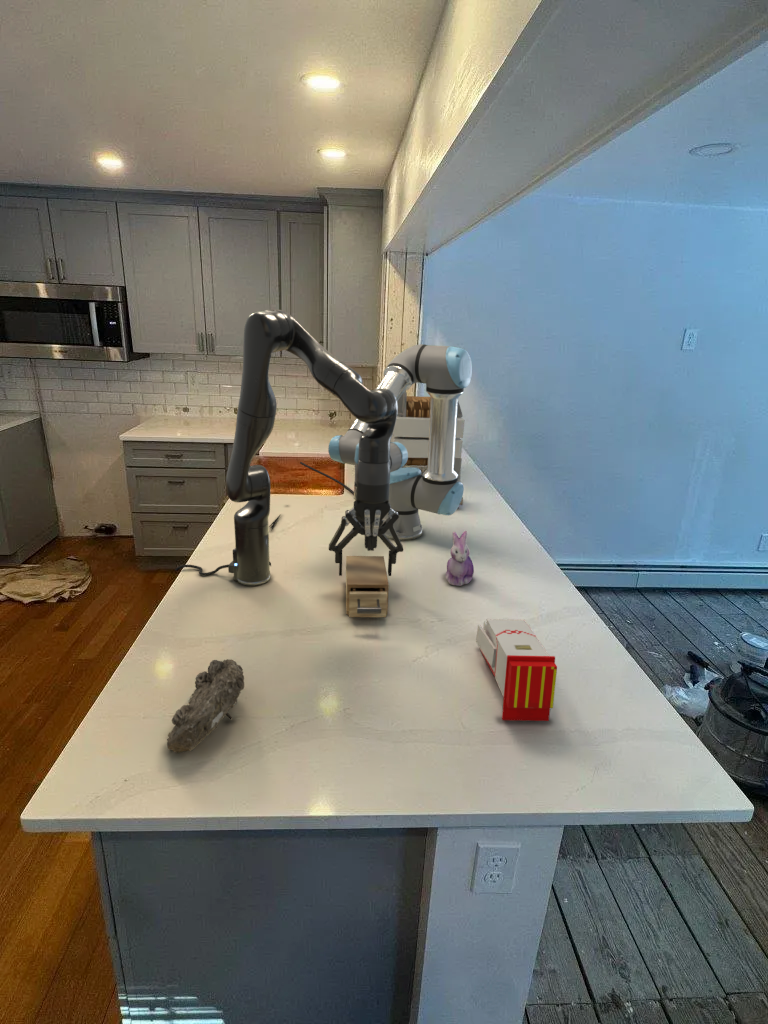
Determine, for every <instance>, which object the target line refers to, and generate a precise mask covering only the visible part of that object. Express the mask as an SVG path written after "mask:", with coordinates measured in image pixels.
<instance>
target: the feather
mask: <svg viewBox="0 0 768 1024" xmlns="http://www.w3.org/2000/svg"><path fill="white" fill-rule="evenodd" d="M286 506H288V504H287V505H286ZM281 515H282V513H281V514H279V516H277V517H276V518H275V519H274V520H273V521H272V523H270V524H269V525H268V527H270V528H271V529H270V530H271V532H272V531H273V529H274V527H275V525H276V524H277V522H278V520H279V518H281V517H280V516H281Z"/></svg>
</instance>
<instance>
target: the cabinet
mask: <svg viewBox="0 0 768 1024" xmlns="http://www.w3.org/2000/svg"><path fill="white" fill-rule="evenodd" d="M345 557H346V558H345V611H346V612H345V614H346V615H348V616H349V591H351V588H383V591H384V592H387V607H386V616H387V615H388V609H389V608H388V607H389V606H388V605H389V590H390V589H389V586H390V583H389V578H388V571H387V565H386V561H385V556H384V555H346V556H345Z"/></svg>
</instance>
